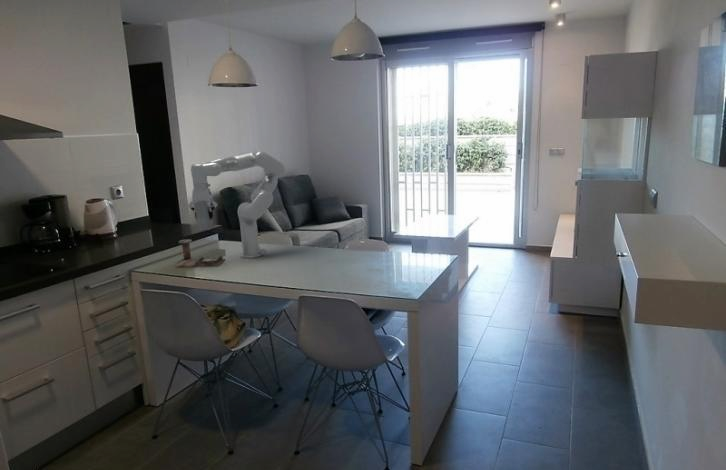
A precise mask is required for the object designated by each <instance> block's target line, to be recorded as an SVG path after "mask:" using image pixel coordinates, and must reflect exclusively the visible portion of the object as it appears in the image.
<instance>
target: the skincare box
mask: <svg viewBox="0 0 726 470" xmlns="http://www.w3.org/2000/svg"><path fill="white" fill-rule="evenodd" d="M194 205H195V207H194V208H195V211H196V217H197V220H196V224H197V229H198V231H203V230H206V231H207V230H211V229H212V228H214V219H213V218H212V219H210V218H209V209H208V207H207V203H206V201H198V202H194Z"/></svg>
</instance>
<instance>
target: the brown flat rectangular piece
mask: <svg viewBox="0 0 726 470" xmlns="http://www.w3.org/2000/svg"><path fill="white" fill-rule="evenodd" d="M225 261H226V258H223V256H222V255H220V256H219V257H217V258H206V259H205V258H204V256H201V257H200V258H198V259H194V260H183V261H182V262H181V261H180V262H179V263H177V264H176V265H175V269H178V268H180V269H181V268H182V269H183V268H205V267H209V268H210V267H220V266H221V265H222V264H223V263H224V262H225Z"/></svg>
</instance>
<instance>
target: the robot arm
mask: <svg viewBox="0 0 726 470" xmlns="http://www.w3.org/2000/svg"><path fill="white" fill-rule="evenodd" d="M190 166H191V167H190V169H191V177H192V186H193V189H192V192H191V193H192V194H191V199H192V200H191V202H190V203H189V204H188V208H190V210H191V211H193V213H194V216H195V217H194V218H195V219H196V221H197V217H196V211H195V205H194V202H198V201H206V203H207V207H208V209H209V218H210V219H212V218H213V217H214V213H213V211H214V210H215V208H216V207H217V206H218V203H217V202H216V201H214V200H213V195H212V192H211V188H209V187H211V184H210V183H209V182H208V177H218V176H219V175H221V173H226V172H238V171H239V172H240V171H243V170H246V169H250V168H254V167H260V168H262V169H263V174H264V177H263V179H262V181H261V182H260V184H258V186H257V187H256V188H255V189H254V190H253V192H252V193H251V195H250V200H251V202H246V201H245V202H242V203H240V204H239V206H238V208H237V217H238V221H239V227H240V236H241V237H240V238H241V246H242V249H241V250H242V253H241V254H240V258H242V259H254V258H258V257H262V256H263V253H265V254H266V253H267V249H265V248H261V246H260V244H259V242H260V241H259V233H258V224H257V221H258V220H259V219H260V218H261V217H262V216H263V215H264V214H265V212H267V210H268V209H269V207H271V206H272V204H273V201H274V195H273V192H274V191H275V190H276V188H277V185H278V183H279V181H278V180H279V179H278V177H280V176H282V175H283V174H284V172H285V170H286V169H285V165H284V164H283V163H282V162H281V161H280V160H278V159H276V158H275V157H273V156H271V155H270V154H268V153H267V152H265V151H263V150H262V151H261V150H255V151H254V150H253V151H250V152H246V153H241V154H238V155H237V154H236V155H232V156H229V157H224V158H219V159H216V160H211V161H207V162H205V163H193V164H192V165H190Z"/></svg>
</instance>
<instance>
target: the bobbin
mask: <svg viewBox="0 0 726 470" xmlns="http://www.w3.org/2000/svg"><path fill="white" fill-rule="evenodd" d="M190 243H193V241H192V238H191V239H189V238H188V239H181V240H178V244H180V245H181V248H182V255H183V256H182V257H183V258H182V259H180V262H182V261H183V260H195V258H194V257H192V254H191V248H190Z"/></svg>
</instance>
